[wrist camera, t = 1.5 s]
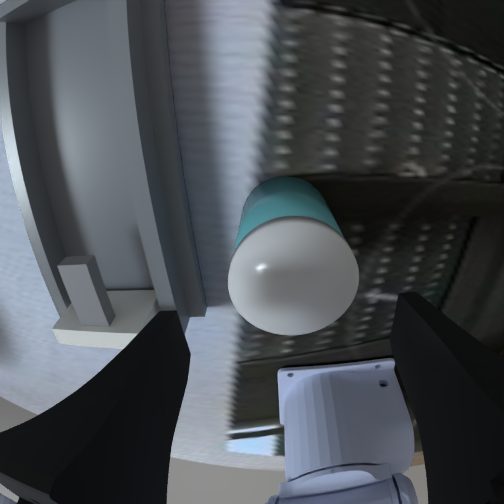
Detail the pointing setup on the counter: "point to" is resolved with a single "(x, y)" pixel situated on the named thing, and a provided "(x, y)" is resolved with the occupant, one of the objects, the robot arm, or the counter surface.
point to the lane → (98, 145)
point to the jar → (290, 260)
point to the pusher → (100, 308)
